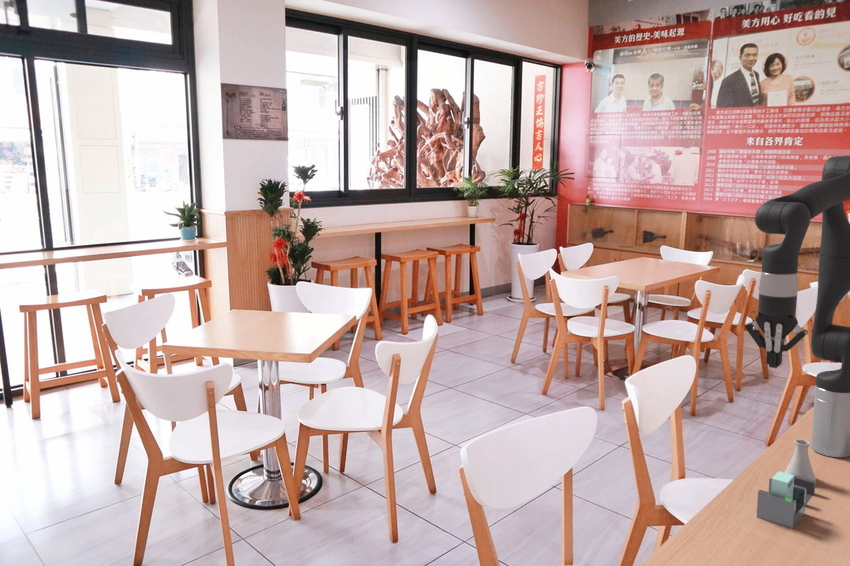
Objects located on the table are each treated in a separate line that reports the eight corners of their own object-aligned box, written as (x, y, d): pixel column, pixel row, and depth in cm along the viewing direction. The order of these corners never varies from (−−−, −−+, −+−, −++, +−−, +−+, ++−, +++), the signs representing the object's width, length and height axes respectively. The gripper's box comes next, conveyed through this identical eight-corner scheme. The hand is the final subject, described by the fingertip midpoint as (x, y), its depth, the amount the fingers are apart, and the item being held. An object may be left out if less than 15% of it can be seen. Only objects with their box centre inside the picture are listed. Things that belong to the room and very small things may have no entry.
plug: (776, 505, 142) (778, 470, 141) (792, 510, 140) (794, 475, 139) (769, 513, 139) (771, 478, 138) (785, 518, 137) (787, 482, 136)
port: (769, 505, 145) (771, 475, 144) (804, 516, 140) (806, 485, 139) (755, 520, 140) (757, 489, 138) (792, 532, 135) (794, 500, 133)
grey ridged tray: (790, 488, 152) (791, 473, 152) (814, 495, 149) (815, 480, 148) (778, 501, 147) (779, 486, 146) (803, 509, 143) (804, 493, 142)
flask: (822, 489, 151) (825, 449, 149) (787, 487, 153) (790, 447, 151) (810, 475, 158) (813, 436, 156) (778, 473, 159) (780, 434, 158)
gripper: (816, 292, 144) (811, 368, 147) (752, 286, 153) (749, 357, 156) (805, 298, 138) (800, 377, 142) (740, 291, 148) (737, 365, 151)
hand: (773, 366), depth 149 cm, fingers closed
